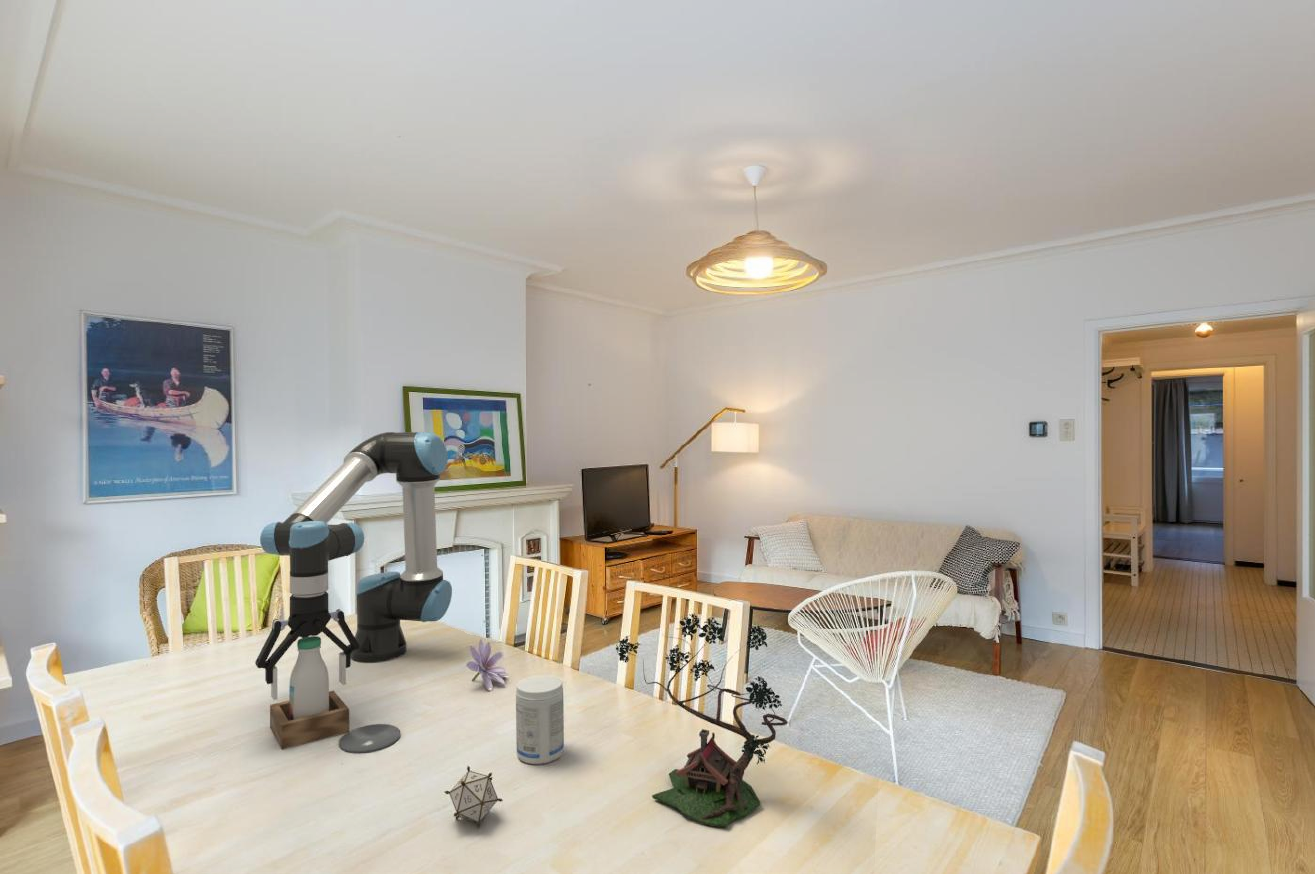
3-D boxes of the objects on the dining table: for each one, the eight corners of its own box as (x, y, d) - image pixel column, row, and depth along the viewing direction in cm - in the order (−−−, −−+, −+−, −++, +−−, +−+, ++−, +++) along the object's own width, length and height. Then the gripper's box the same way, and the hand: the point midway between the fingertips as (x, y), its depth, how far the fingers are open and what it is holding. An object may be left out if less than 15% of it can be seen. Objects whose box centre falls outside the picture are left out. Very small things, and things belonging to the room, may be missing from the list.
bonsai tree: (797, 769, 132) (799, 608, 131) (777, 841, 109) (779, 646, 108) (631, 740, 144) (632, 592, 143) (581, 800, 121) (582, 624, 120)
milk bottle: (336, 722, 151) (336, 633, 151) (315, 738, 143) (315, 645, 143) (303, 720, 152) (303, 632, 151) (281, 736, 144) (281, 643, 144)
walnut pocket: (333, 711, 157) (333, 690, 157) (349, 731, 147) (349, 708, 147) (270, 727, 148) (270, 704, 148) (281, 749, 138) (281, 725, 138)
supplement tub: (555, 739, 144) (556, 671, 143) (570, 759, 135) (570, 686, 135) (510, 748, 139) (510, 678, 139) (522, 770, 131) (522, 695, 131)
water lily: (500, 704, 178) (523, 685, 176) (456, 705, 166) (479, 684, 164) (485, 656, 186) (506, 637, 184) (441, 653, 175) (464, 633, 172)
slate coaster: (390, 721, 152) (390, 719, 152) (408, 741, 142) (408, 738, 142) (332, 737, 144) (332, 734, 144) (347, 758, 135) (347, 755, 135)
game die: (465, 837, 116) (453, 775, 121) (512, 817, 116) (499, 757, 121) (445, 839, 108) (433, 773, 113) (495, 818, 108) (482, 754, 113)
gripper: (364, 581, 158) (364, 671, 158) (240, 598, 142) (240, 698, 142) (373, 588, 152) (373, 681, 152) (245, 606, 136) (245, 710, 137)
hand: (309, 690), depth 147 cm, fingers open, 13 cm apart
